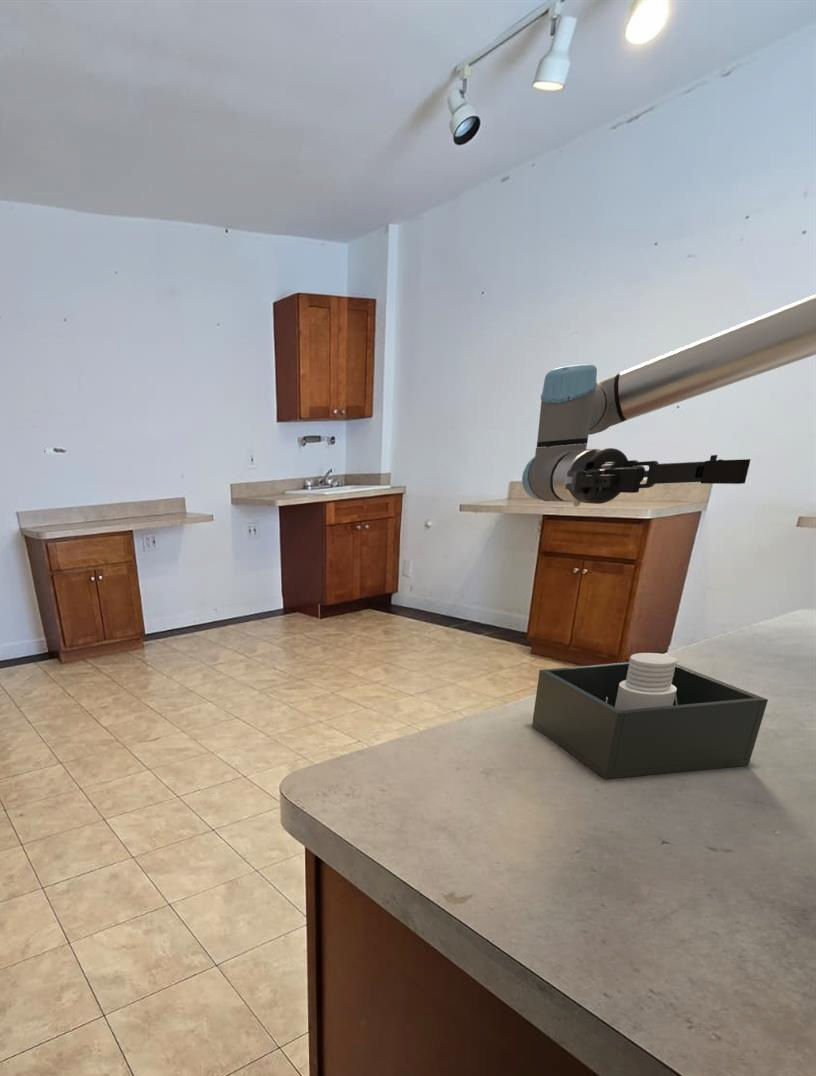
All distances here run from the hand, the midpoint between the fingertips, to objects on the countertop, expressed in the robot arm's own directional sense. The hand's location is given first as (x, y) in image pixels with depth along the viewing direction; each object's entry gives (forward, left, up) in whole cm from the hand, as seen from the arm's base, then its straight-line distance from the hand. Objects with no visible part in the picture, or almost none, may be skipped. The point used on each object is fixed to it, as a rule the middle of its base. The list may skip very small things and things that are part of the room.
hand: (691, 476), depth 78 cm
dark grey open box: (+4, +16, -29) cm, 34 cm away
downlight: (+4, +15, -29) cm, 33 cm away
